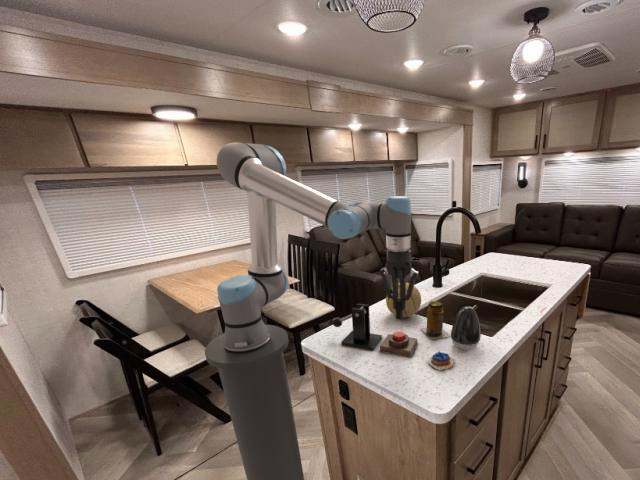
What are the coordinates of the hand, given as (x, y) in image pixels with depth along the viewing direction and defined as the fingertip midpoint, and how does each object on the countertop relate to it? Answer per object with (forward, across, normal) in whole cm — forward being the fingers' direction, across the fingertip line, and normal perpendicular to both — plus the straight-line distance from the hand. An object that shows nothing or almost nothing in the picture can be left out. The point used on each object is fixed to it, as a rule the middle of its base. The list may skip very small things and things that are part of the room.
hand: (399, 317), depth 108 cm
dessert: (+12, +16, -5) cm, 20 cm away
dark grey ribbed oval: (+12, +22, +8) cm, 26 cm away
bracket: (+12, -14, 0) cm, 18 cm away
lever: (+4, -18, 0) cm, 19 cm away
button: (+8, 0, 0) cm, 8 cm away
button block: (+12, 0, 0) cm, 12 cm away
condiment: (+12, +10, +14) cm, 21 cm away
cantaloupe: (+12, -6, +25) cm, 29 cm away
